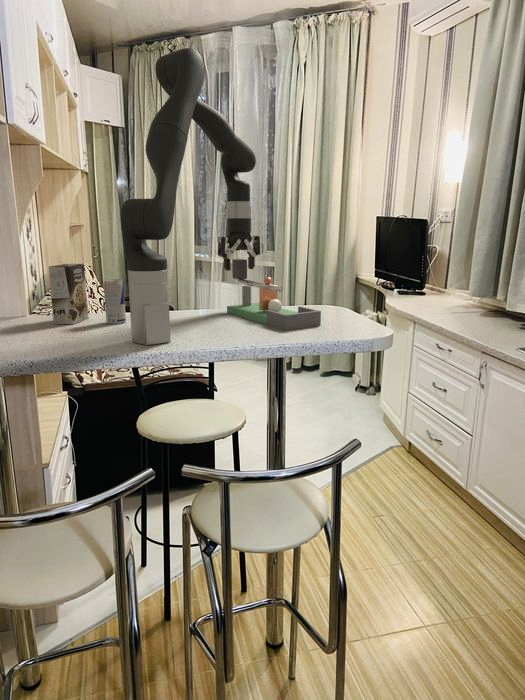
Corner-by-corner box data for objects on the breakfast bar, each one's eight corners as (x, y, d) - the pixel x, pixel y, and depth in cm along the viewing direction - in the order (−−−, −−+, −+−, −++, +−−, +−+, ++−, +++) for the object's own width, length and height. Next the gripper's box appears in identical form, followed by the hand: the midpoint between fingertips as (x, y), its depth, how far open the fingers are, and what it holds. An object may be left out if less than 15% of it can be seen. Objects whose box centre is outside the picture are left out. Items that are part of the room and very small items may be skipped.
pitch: (320, 325, 145) (321, 296, 143) (285, 330, 139) (286, 300, 137) (259, 308, 170) (259, 284, 168) (227, 312, 163) (226, 286, 161)
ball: (284, 313, 152) (284, 299, 151) (273, 314, 149) (273, 300, 148) (276, 311, 155) (276, 297, 154) (265, 312, 153) (265, 298, 152)
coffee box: (74, 324, 145) (68, 266, 141) (52, 324, 146) (46, 266, 142) (89, 318, 154) (85, 263, 150) (69, 317, 155) (64, 263, 151)
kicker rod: (286, 311, 151) (287, 264, 148) (272, 313, 149) (273, 265, 145) (243, 300, 171) (243, 258, 167) (230, 301, 168) (229, 259, 164)
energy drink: (128, 320, 151) (126, 279, 148) (122, 324, 146) (119, 281, 143) (110, 320, 151) (107, 279, 148) (103, 324, 146) (100, 281, 143)
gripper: (225, 217, 154) (226, 272, 158) (264, 216, 162) (264, 269, 166) (212, 216, 160) (214, 270, 164) (251, 216, 168) (252, 267, 172)
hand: (239, 269), depth 165 cm, fingers open, 8 cm apart
